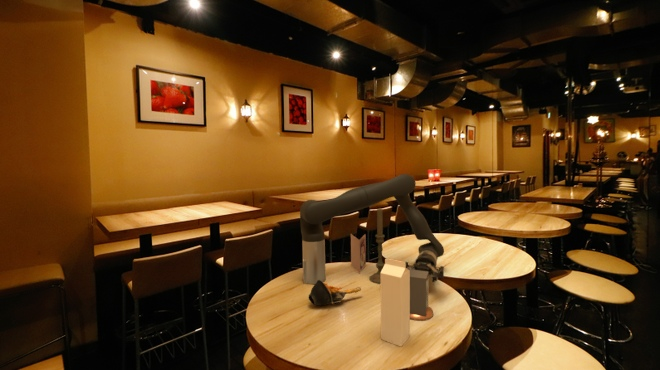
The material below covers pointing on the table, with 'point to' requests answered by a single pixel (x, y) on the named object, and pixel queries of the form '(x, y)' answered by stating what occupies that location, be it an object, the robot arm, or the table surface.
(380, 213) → the candlestick holder
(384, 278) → the milk
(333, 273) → the table surface
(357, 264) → the greeting card
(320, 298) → the fried shrimp in bowl
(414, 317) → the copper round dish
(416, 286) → the grey rectangular block
